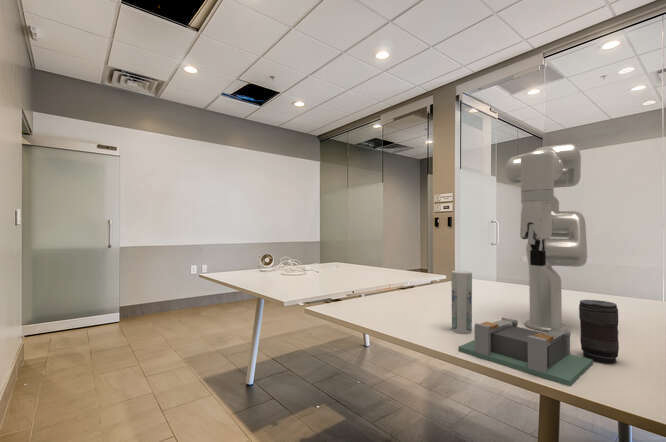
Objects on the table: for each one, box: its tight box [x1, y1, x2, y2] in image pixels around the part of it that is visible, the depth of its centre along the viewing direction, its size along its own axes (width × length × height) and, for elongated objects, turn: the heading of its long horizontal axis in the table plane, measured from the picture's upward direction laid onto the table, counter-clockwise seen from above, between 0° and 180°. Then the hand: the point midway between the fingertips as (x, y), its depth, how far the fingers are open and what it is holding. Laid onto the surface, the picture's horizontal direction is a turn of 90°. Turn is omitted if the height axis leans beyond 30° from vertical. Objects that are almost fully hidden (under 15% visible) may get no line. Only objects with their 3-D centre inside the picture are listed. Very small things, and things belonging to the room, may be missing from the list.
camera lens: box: [578, 299, 620, 365], centre depth 86 cm, size 8×8×15 cm
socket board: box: [457, 317, 594, 387], centre depth 86 cm, size 19×26×9 cm
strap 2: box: [534, 330, 566, 347], centre depth 81 cm, size 14×3×2 cm, turn 129°
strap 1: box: [479, 318, 513, 333], centre depth 91 cm, size 14×3×2 cm, turn 129°
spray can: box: [450, 270, 473, 335], centre depth 109 cm, size 6×6×20 cm
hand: (537, 265), depth 87 cm, fingers closed
